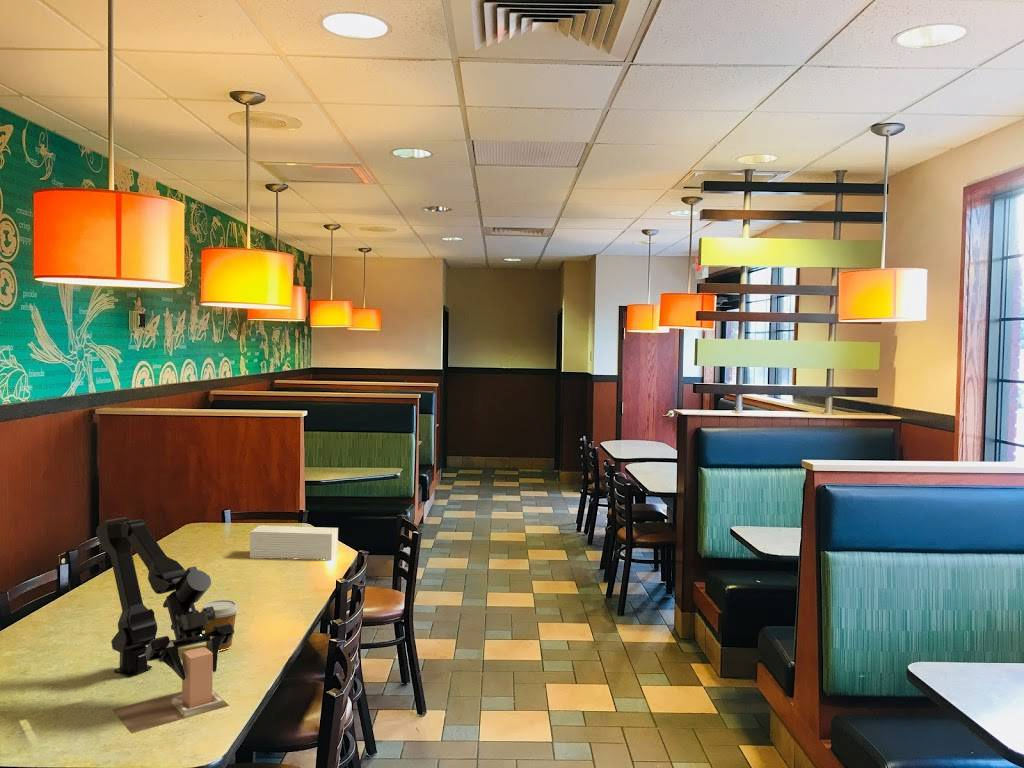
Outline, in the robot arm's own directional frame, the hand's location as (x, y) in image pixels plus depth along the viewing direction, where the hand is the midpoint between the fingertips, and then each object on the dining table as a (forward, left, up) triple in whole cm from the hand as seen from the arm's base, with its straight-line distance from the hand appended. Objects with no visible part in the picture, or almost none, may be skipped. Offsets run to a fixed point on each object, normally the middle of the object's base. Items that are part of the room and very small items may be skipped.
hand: (199, 675), depth 178 cm
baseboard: (-5, -4, -8) cm, 10 cm away
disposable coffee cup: (-26, +28, -8) cm, 39 cm away
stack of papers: (-77, +111, -9) cm, 135 cm away
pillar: (-1, 0, -7) cm, 7 cm away
